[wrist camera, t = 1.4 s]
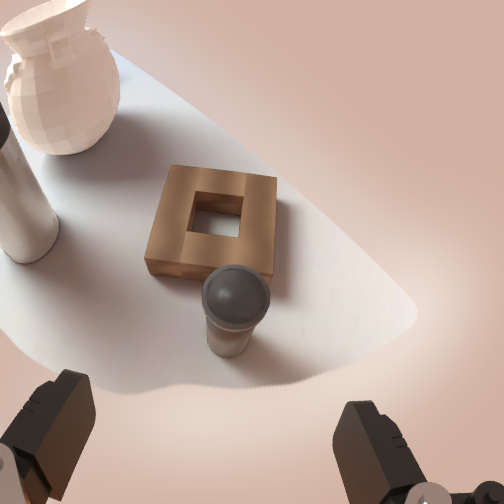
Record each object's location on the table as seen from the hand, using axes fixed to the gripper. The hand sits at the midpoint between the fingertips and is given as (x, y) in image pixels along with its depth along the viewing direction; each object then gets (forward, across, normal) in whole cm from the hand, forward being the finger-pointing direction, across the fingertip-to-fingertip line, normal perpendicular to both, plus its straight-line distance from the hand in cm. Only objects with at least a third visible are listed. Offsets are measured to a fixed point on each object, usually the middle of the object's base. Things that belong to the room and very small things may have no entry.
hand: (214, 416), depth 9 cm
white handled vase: (+45, +29, -10) cm, 54 cm away
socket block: (+33, +2, +2) cm, 33 cm away
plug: (+24, -1, +11) cm, 26 cm away
